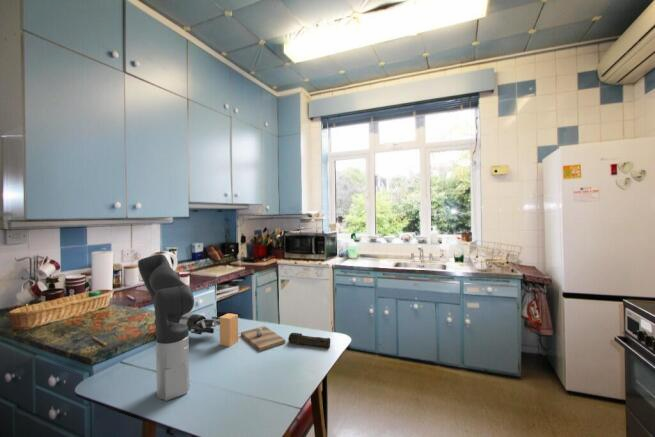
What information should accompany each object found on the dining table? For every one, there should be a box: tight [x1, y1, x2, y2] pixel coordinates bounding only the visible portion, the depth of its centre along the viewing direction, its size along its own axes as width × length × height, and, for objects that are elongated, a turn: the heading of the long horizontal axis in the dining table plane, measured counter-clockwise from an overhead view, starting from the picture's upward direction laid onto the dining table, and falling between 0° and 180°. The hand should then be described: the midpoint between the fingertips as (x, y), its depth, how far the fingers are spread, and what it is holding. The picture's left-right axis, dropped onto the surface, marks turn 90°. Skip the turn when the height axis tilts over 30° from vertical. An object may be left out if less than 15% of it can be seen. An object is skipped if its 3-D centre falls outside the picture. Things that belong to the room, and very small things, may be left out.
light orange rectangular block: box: [219, 313, 239, 347], centre depth 124 cm, size 5×5×12 cm
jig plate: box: [240, 325, 286, 352], centre depth 128 cm, size 20×12×5 cm, turn 39°
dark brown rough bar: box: [287, 332, 331, 349], centre depth 122 cm, size 19×4×5 cm, turn 73°
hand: (220, 327), depth 126 cm, fingers open, 8 cm apart
